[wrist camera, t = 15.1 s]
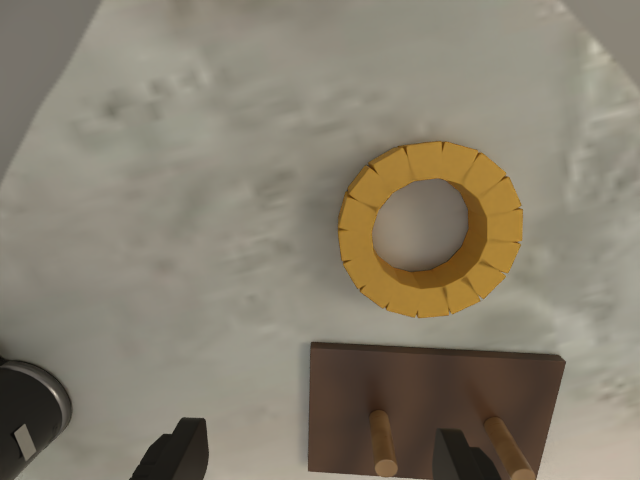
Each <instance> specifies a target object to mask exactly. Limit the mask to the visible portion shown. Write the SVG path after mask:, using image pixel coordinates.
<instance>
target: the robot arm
mask: <svg viewBox="0 0 640 480" xmlns="http://www.w3.org/2000/svg"><path fill="white" fill-rule="evenodd" d="M70 418H71V405H70V401H69V398H68V396H67V394H66V392H65V390H64V389H63V387H62V386H61V385H60V384H59V382H58V381H57V380H56V379H55V378H53V377H52V376H51V375H50V374H48V373H47V372H45V371H44V370H42V369H40V368H38V367H36V366H34V365H31V364H28V363H23V362H15V361H11V362H8V361H6V360H4V359H2V358H0V480H14V479H15V478H16V477H17V476H18V475H19V474H20V473H21V472H22V471H23V470H24V469H25V468H26V467H27V466H28V465H29V464H30V463H31V462H32V461H33V460H34V459H35V458H36V457H37V455H38V454H39V453H40V452H41V451H42V450H44V449H45V448H46V447H47V446H48V445H49V444H50V443H51V442H52V441H53V440H54V439H55V438H57V436H58V435H59V434H60V433H61V432H62V431H63V430H64V429H65V428H66V427H67V425H68V423H69V421H70ZM208 458H209V450H208V439H207V428H206V421H205V419H204V418H186V417H183V418H181V420H180V421H179V423H178V424H177V426H176V428H175V430H174V431H173V433H172V434H163V435H162V436H161V437H160V438H159V439H157V440H156V441H155V442H154V443H153V444H152V445H151V446H150V447H149V449H148V450H147V452H146V453H145V455H144V457H143V458H142V460H141V461H140V465H138V466H137V468H136V470H135V471H134V473H133V475H132V478H130V479H129V480H203V478H204V476H205V473H206V469H207V465H208ZM432 473H433V480H501V477H500V475H499V473H498V471H497V469H496V467H495V465H494V463H493V461H492V460H491V459H490V458H489V457H488V456H487V455H486V454H485V453H484V452H483V451H482V450H481V449H480V448H479V447H469V445H468V442H467V440H466V438H465V436H464V434H463V432H462V430H461V429H454V428H437V430H436V435H435V443H434V451H433V459H432Z"/></svg>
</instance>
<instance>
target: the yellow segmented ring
mask: <svg viewBox="0 0 640 480" xmlns="http://www.w3.org/2000/svg"><path fill="white" fill-rule="evenodd" d="M368 164H369V166H370V167H368V166H366V165H365V166H364V167H363V169H362V170H361V171H360V172H359V174H358V175H357V176H356V178H355V179H354V180H353V181H352V183H351V184H350V185H349V187H348V191H346V192H345V195H344V199H343V203H342V206H341V210H340V213H339V217H338V237H339V245H340V253H341V260H342V261H343V265H344V267H345V269H346V271H347V272H348V274H349V276H350V277H351V279H352V281H353V282H354V284H355V286H356V287H357V289H359V288H360V292H361V293H362V294H364V295H365V296H366V297H368V298H369V299H370V300H372V301H373V302H375V303H376V304H377V305H379V306H380V307H381V308H384V307H386V310H387V311H391V312H395V313H399V314H402V315H406V316H410V317H414V318H415V316H416V314H417V316H418V318H426V317H436V316H447V315H449V311H450V312H451V314H454V313H456V312H458V311H461V310H463V309H465V308H467V307H469V306H471V305H473V304H475V303H478V302H480V299H479V297H478V295H479V296H480V297H482V298H483V299H484V298H485V297H486V296H487V295H488V294H489V293H490V292H491V291H492V290H493V289H494V288H495V287H496V286H497V285H498V284H499V283H500V282H501V281H502V280H503V279H504V278H505V277H506V276H505V275H504V274H503V273H501V272H505V273H509V271H510V268H511V266H512V264H513V262H514V259H515V257H516V255H517V253H518V250H519V248H520V246H521V244H519V243H517V241H522V221H523V209H520V208H518V207H520V206H521V203H520V200H519V198H518V196H517V194H516V191H515V189H514V187H513V185H512V182H511V180H510V178H509V177H507V176H505V175H506V172H504V171H503V170H502V169H501V168H500V167H499V166H497V165H496V164H495V163H494V162H493V161H491V160H490V159H489V158H488V157H487V156H486V155H484V154H483V153H478V150H475V149H471V148H468V147H464V146H461V145H457V144H453V143H450V142H441V141H435V142H424V143H417V144H410V145H403V146H398V148H392V149H391V150H389V151H387V152H386V153H384V154H382V155H380V156H379V157H377V158H375V159H373V160H372V161H370V162H369V163H368ZM435 178H439V179H443V180H446V181H447V182H448V183H449V184H451V185H452V186H453V187H454V188H455V189H457V190H458V191H459V192H460V193H461V196H462V198H463V200H464V202H465V204H466V206H467V208H468V226H469V229H468V232H467V234H466V237H465V239H464V242H463V244H462V247H461V248H460V249H459V250H458V251H457V252H456V253H455V254H454V255H453V256H452V257H451V258H450V260H449V261H448V262H446V263H443V264H441V265H439V266H437V267H435V268H433V269H431V270H427V271H417V272H408V271H405V270H401V269H397V268H393V267H392V266H391V265H389V264H388V263H387V262H385V261H384V260H383V259H381V258H380V257H379V256H378V255H377V253H376V251H375V249H374V248H373V241H372V229H373V226H374V223H375V219H376V216H377V213H378V210H379V209H380V208H381V207H382V206H383V204H384V203H385V202H386V201H387V199H388V198H389V197H390V196H391V195H392V193H394V192H395V191H397V190H399V189H401V188H403V187H404V186H406V185H408V184H410V183H412V182H413V181H420V180H427V179H435ZM500 271H501V272H500ZM477 294H478V295H477Z"/></svg>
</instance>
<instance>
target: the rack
mask: <svg viewBox="0 0 640 480" xmlns="http://www.w3.org/2000/svg"><path fill="white" fill-rule="evenodd" d="M565 364H566V361H565V360H564V359H563V358H562V357H560V356H559V355H549V354H530V353H511V352H491V351H472V350H453V349H434V348H415V347H395V346H376V345H357V344H338V343H319V342H311V350H310V398H309V447H308V471H311V472H325V473H340V474H354V475H369V476H381V477H398V478H412V479H427V480H433V473H432V459H433V451H434V443H435V435H436V430H437V428H454V429H461V430H462V432H463V434H464V436H465V438H466V440H467V442H468V445H469V447H479V448H480V449H481V450H482V451H483V452H484V453H485V454H486V455H487V456H488V457H489V458H490V459H491V460H492V461H493V463H494V465H495V467H496V469H497V471H498V473H499V475H500V477H501V480H536V478H537V474H538V470H539V466H540V462H541V458H542V454H543V451H544V447H545V443H546V439H547V435H548V431H549V427H550V423H551V419H552V415H553V411H554V407H555V403H556V399H557V395H558V391H559V387H560V383H561V379H562V375H563V372H564V368H565Z"/></svg>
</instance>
